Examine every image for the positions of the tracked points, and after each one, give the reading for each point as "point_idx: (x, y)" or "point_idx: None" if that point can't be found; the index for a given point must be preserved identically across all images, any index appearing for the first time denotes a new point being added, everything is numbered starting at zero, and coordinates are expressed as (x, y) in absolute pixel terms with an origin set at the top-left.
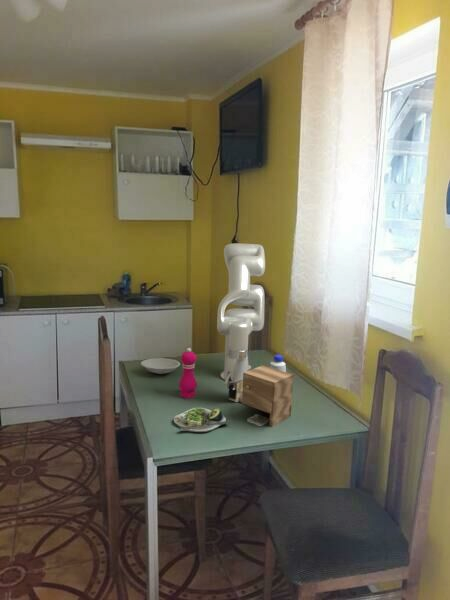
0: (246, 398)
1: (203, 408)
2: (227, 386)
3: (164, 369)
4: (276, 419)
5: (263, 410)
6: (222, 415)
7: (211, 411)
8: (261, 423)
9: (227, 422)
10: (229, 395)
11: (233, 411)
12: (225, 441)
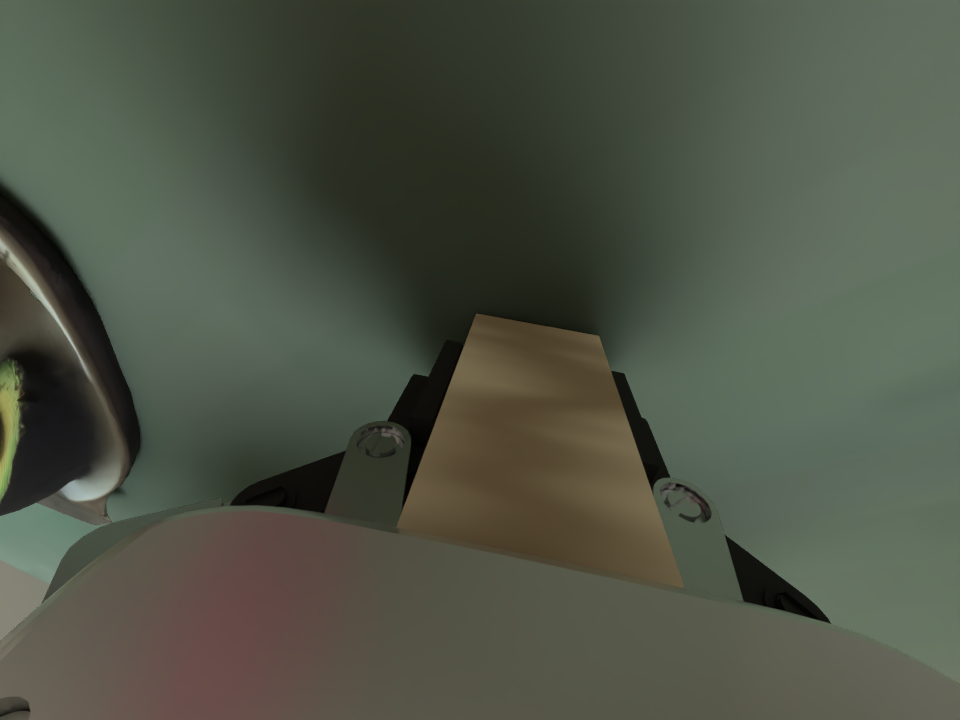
0: None
1: (6, 250)
2: (273, 482)
3: None
4: None
5: None
6: (116, 455)
7: (13, 388)
8: None
9: (84, 520)
10: (412, 380)
11: (300, 450)
12: (19, 540)
